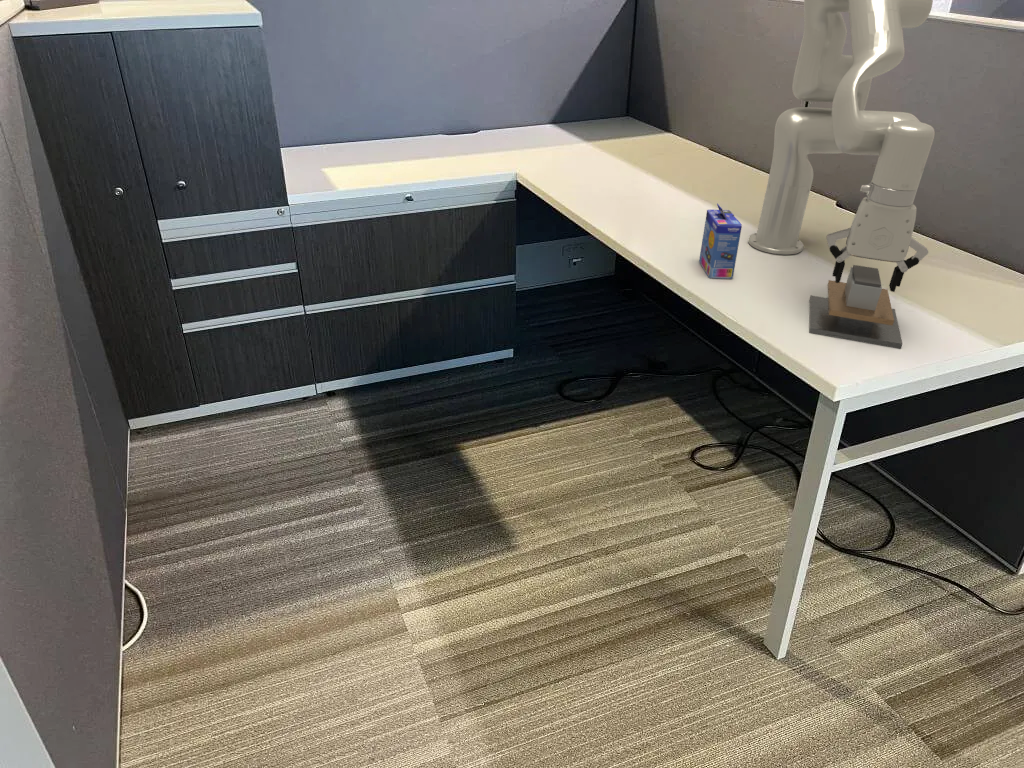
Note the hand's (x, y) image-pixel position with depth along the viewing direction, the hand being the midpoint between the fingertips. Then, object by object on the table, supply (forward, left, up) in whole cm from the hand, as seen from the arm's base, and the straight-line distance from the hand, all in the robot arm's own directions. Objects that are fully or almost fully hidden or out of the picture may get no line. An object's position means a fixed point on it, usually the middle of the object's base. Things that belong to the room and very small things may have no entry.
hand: (864, 284), depth 143 cm
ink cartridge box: (-16, -28, -8) cm, 33 cm away
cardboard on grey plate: (0, 0, -8) cm, 8 cm away
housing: (0, 0, -3) cm, 3 cm away
